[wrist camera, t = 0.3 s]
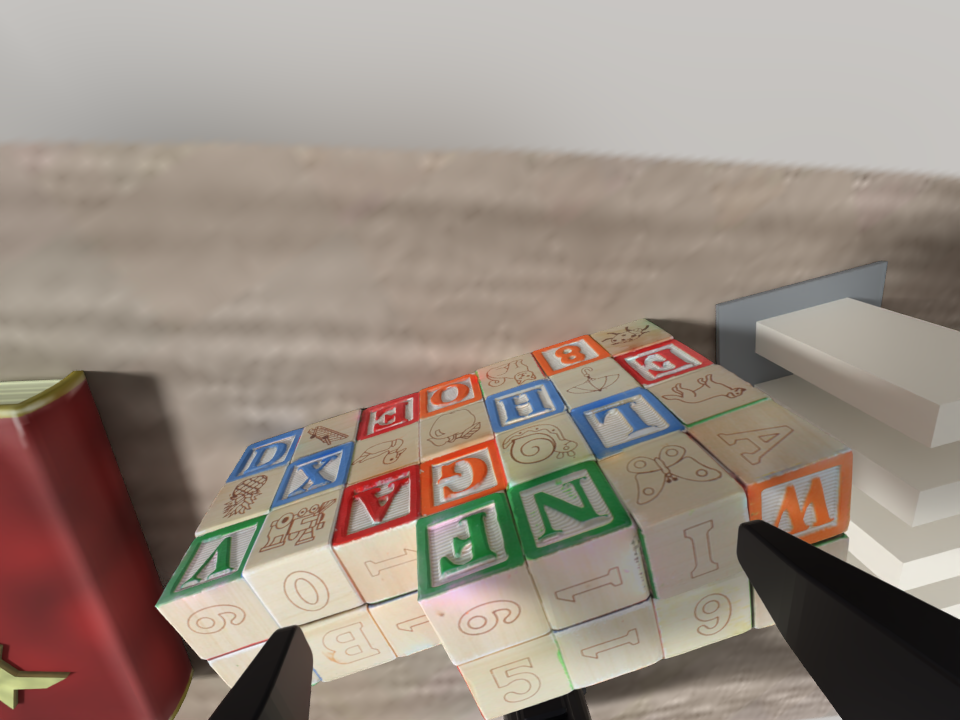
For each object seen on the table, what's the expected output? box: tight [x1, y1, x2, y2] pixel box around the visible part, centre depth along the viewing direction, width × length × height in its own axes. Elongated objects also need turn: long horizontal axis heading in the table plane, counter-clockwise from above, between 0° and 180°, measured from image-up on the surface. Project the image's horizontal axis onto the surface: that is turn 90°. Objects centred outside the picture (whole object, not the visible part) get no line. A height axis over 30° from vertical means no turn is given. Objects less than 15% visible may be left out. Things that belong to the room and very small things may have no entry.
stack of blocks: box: [155, 319, 853, 720], centre depth 19 cm, size 21×6×12 cm, turn 106°
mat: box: [716, 261, 888, 387], centre depth 27 cm, size 20×9×1 cm, turn 13°
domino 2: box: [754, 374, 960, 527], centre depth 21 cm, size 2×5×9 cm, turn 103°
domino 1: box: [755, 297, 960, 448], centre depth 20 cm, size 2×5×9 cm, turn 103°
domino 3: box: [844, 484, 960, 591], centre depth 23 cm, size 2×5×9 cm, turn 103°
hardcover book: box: [0, 371, 194, 720], centre depth 22 cm, size 12×21×4 cm, turn 179°
